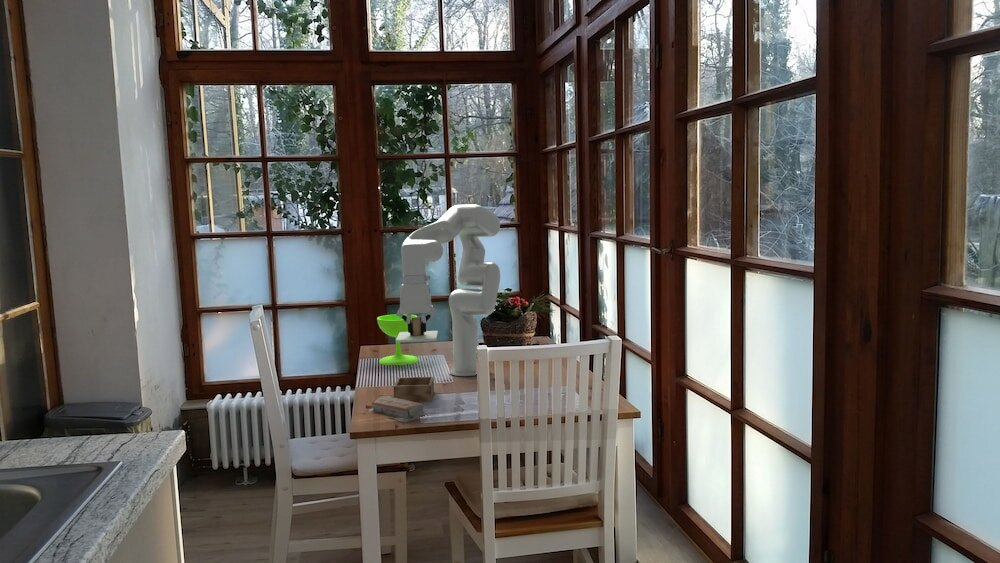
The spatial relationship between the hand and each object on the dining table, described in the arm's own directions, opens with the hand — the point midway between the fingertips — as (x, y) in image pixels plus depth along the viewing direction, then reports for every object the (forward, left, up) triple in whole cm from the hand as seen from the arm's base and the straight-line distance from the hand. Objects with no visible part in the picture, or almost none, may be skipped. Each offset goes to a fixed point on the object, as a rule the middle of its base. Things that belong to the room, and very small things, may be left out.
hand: (417, 334), depth 256 cm
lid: (0, 0, -1) cm, 1 cm away
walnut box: (+1, +6, -21) cm, 21 cm away
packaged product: (+5, +23, -21) cm, 32 cm away
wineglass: (+13, -54, -21) cm, 59 cm away
